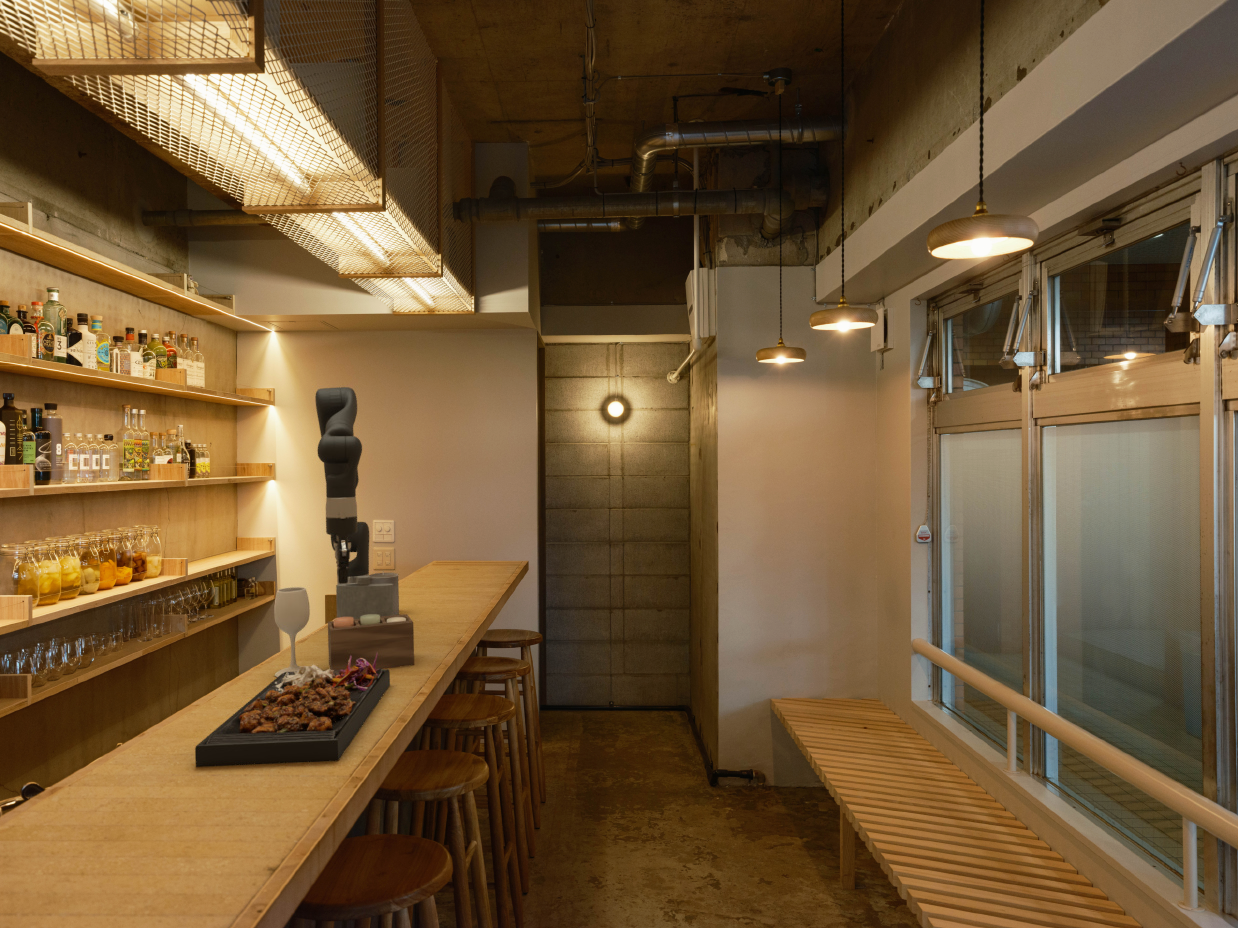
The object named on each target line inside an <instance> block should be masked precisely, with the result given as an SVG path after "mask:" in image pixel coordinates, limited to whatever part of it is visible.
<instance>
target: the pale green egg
mask: <svg viewBox="0 0 1238 928" xmlns="http://www.w3.org/2000/svg"><path fill="white" fill-rule="evenodd" d="M360 620H361V625H368V624H378V623H380V615H378V614H368V615H363V616H361V617H360Z"/></svg>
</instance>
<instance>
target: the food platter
mask: <svg viewBox="0 0 1238 928" xmlns="http://www.w3.org/2000/svg"><path fill="white" fill-rule="evenodd" d="M377 655H378V652H377V654H376V658H375V661H374V664H373V665H371V664H369V663H368V662H367V661H366V660H365V659H363V658H360V659H357V660H356V664H357V665H356V666H357V667H356V666H353V667H351V668H350V664H351V658H352V656H351V655H350V659H349V661H348V665H347V669H345V670H331V669H330V668H329V669H326V670H322V669H321V668H320V667H319V666H317V665H315V664H312V665H311V666H310V665H308V666H306V665H303V666H302V665H301V666H300V667H299V671H298V672H288V671H287V672H284V673H282V674H281V675H280V676H278V677H276V678H275V679H274V680H273V681H271V682H270V683H269V684H268V685H267V686H265V687H264V688H263V689H262V690H260V691H259V692H258V693H257V694H256V695H255V696H254V697H253V698H251V699H250V700H249V701H247V703H245V704H243V706H241V707H240V708H239V709H238V710H237V711H236V712H235V713H233V714H232V715H231V716H229V718H228V719H226V720H225V721H223V723H221V724H220V725H219V726H218V727H217V728H215V729H214V730H213V731H212V732H211V733H210V734H209V735H207V736H206V737H205V738H204V739H202V740H201V741H200V742H199V743H198V744H197V745H195V748H194V753H195V756H194V757H195V758H194V759H195V768H209V767H210V768H211V767H213V768H214V767H232V766H234V767H235V766H252V765H253V766H254V765H255V766H256V765H280V764H297V763H298V764H300V763H323V762H325V763H326V762H339V760H340V759H341V758H342V756H343V755H344V754H345V753H346V750H347V749H348V747H349V746H350V745H351V743H352V742H353V740H354V738H355V737H356V736H357V735H358V733H359V731H360V730H361V728H362V727H363V726H362V725H364V724H365V722H367V720H368V719H369V717H370V715H371V714H372V713H373V711H374V710H375V708H376V706H377V705H378V704H379V702H380V701H381V699H382V698H383V696H384V695H385V693H386V692H387V690H388V689H389V688H388V687H390V686H391V681H390V680H391V678H390V677H391V676H390V675H391V674H390V673H391V672H390V669H389V668H385V669H376V659H377ZM383 694H384V695H383ZM381 697H382V698H381ZM379 700H380V701H379ZM373 709H374V710H373Z"/></svg>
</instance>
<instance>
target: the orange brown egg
mask: <svg viewBox="0 0 1238 928" xmlns="http://www.w3.org/2000/svg"><path fill="white" fill-rule="evenodd" d="M333 621H334V628H338V627H348V626H354V618H353V617H338V618H337V617H335V618H333Z"/></svg>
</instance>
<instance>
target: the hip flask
mask: <svg viewBox="0 0 1238 928" xmlns="http://www.w3.org/2000/svg"><path fill="white" fill-rule="evenodd" d="M369 579H370V576H358V577H357V580H358V582H357V583H348V584H338V585H337V584H336V585H335V591H336V593H335V594H336V618H338V617H353V618H354V619H360V617H361V616H363V615H368V614H378V615H380V617H382V616H392V615H394V613H393V584H369V583H370V582H369Z"/></svg>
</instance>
